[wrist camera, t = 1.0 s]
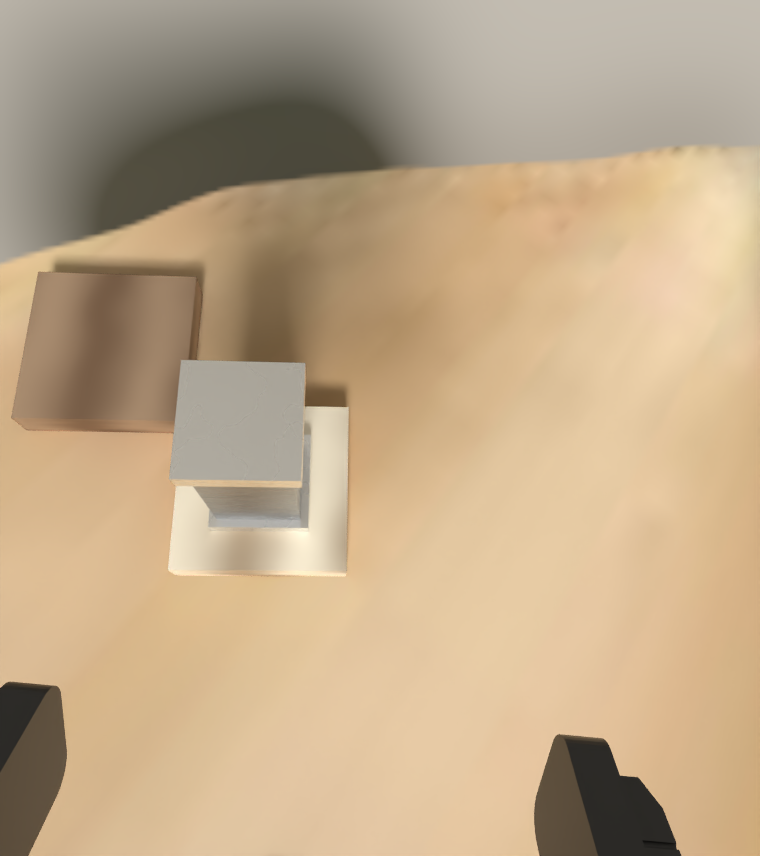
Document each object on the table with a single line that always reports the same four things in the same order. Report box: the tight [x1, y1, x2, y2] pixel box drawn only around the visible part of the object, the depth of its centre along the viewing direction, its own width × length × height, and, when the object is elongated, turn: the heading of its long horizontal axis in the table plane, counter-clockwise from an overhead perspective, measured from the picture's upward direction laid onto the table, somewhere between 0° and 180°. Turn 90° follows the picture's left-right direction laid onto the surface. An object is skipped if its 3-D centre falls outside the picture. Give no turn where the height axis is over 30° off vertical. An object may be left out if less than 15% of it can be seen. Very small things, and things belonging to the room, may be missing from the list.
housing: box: [169, 360, 311, 532], centre depth 32 cm, size 5×5×10 cm
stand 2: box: [168, 406, 349, 576], centre depth 38 cm, size 9×9×2 cm
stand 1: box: [11, 272, 202, 433], centre depth 40 cm, size 9×9×2 cm
